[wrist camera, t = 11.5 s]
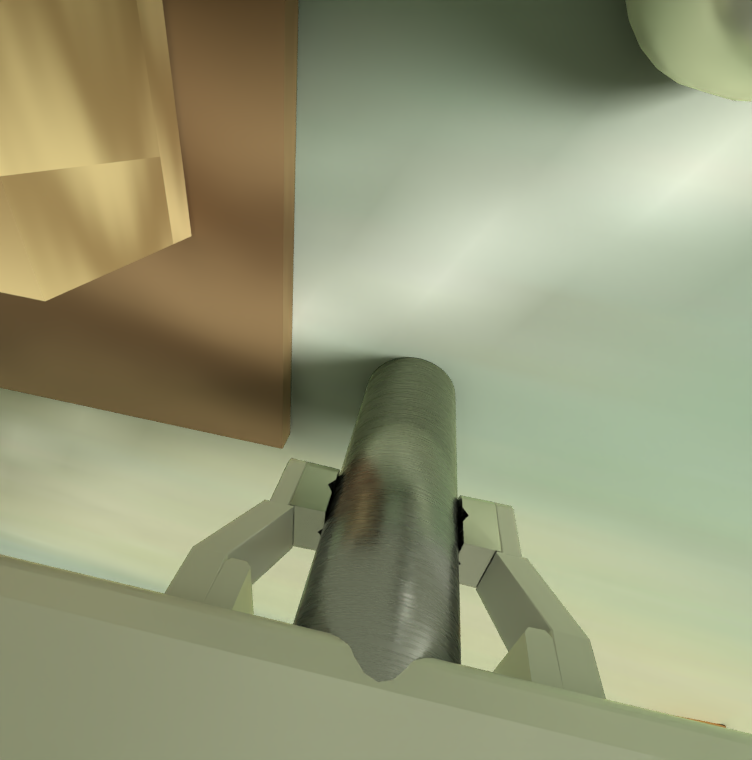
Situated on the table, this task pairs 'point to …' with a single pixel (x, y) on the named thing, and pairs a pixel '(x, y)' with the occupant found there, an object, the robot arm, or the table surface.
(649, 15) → the plastic bottle
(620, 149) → the table surface
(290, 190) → the jig
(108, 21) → the tan square frame
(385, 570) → the dowel
